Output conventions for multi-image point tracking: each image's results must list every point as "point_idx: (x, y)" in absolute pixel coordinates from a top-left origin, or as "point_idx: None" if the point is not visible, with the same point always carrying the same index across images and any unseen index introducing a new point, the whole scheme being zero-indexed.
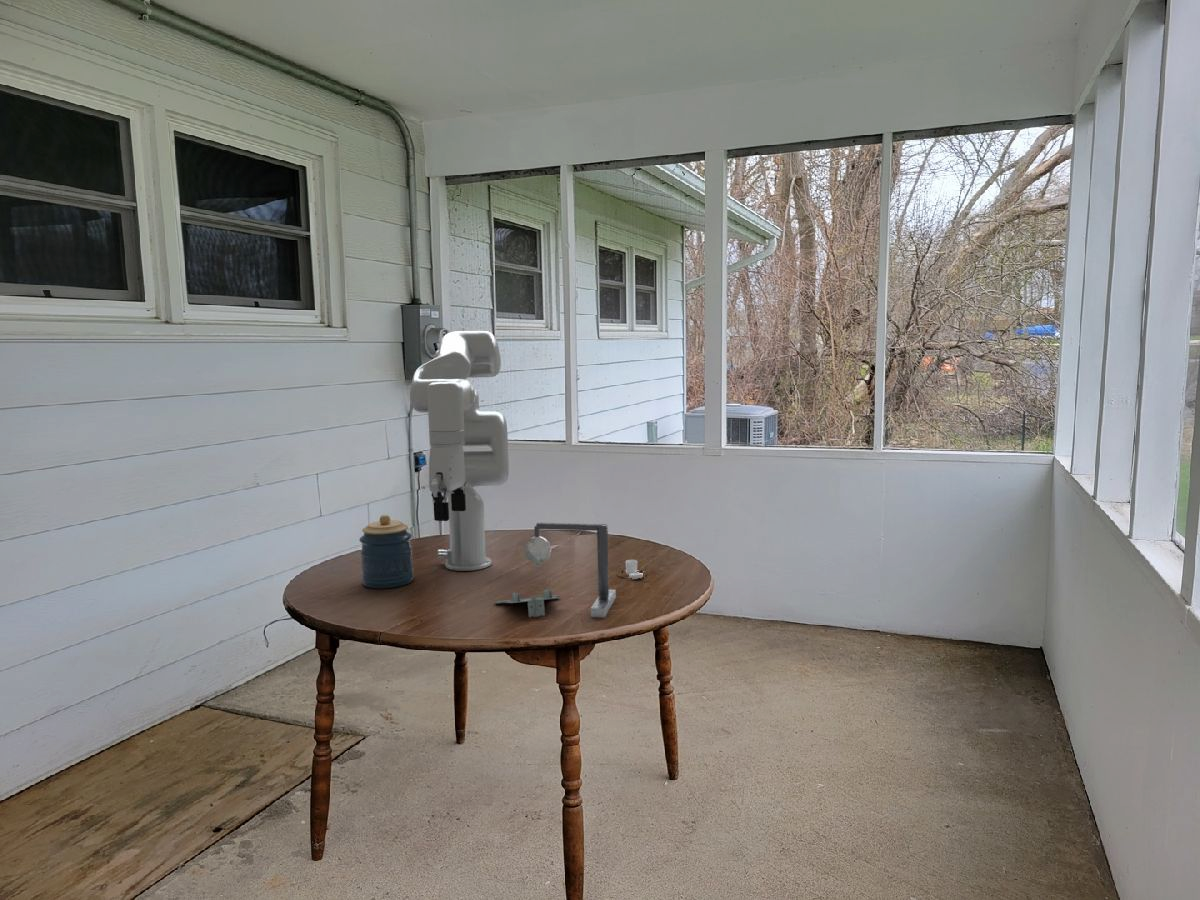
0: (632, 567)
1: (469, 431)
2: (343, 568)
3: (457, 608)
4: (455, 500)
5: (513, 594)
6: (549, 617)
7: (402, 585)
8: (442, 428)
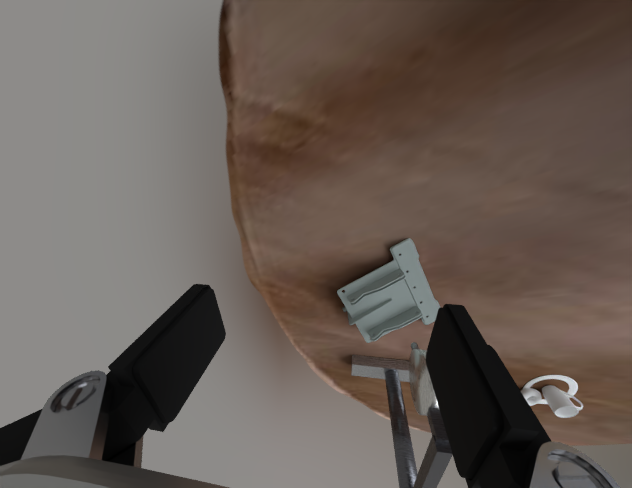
0: (549, 404)
1: None
2: None
3: (374, 183)
4: (460, 384)
5: (383, 284)
6: (345, 317)
7: None
8: None
